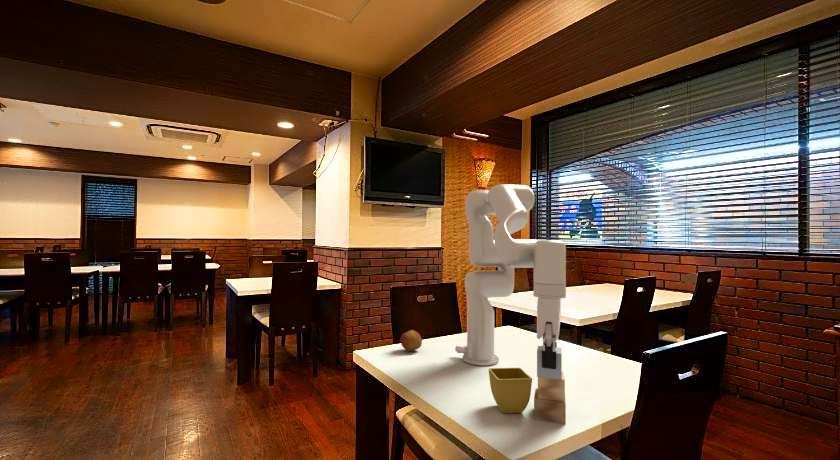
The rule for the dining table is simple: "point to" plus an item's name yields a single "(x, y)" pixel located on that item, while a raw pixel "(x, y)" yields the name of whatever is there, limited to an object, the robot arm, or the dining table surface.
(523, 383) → the flower pot
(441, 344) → the dining table surface
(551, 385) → the oak middle block
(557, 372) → the slate block
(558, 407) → the brown wooden block
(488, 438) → the dining table surface
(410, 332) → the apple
